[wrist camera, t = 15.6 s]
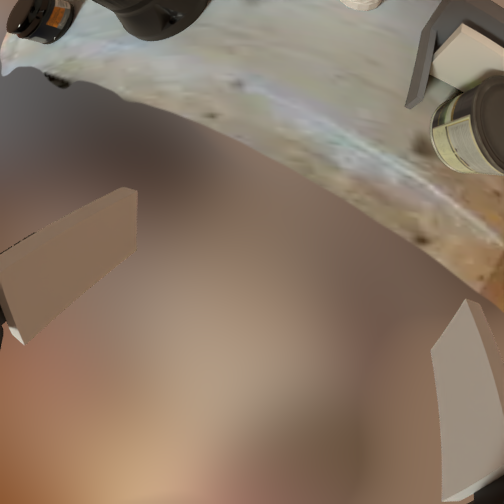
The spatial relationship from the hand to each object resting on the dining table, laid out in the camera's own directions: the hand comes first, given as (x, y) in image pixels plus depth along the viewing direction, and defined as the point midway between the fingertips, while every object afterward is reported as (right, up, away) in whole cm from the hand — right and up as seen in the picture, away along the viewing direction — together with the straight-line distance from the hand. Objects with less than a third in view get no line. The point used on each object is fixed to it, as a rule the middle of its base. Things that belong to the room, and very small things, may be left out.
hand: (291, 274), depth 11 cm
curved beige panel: (+30, +22, +18) cm, 41 cm away
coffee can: (+27, +16, +21) cm, 38 cm away
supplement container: (-42, +49, +30) cm, 71 cm away
